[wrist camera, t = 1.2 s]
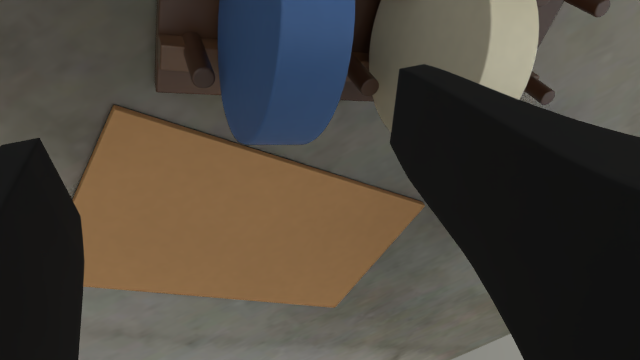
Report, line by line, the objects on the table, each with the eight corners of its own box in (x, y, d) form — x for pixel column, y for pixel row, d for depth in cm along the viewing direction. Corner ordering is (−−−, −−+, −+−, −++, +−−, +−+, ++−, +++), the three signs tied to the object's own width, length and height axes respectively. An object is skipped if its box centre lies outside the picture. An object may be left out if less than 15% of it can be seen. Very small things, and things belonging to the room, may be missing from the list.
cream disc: (449, -73, 18) (582, -11, 13) (389, 87, 22) (473, 181, 17) (406, -83, 17) (531, -21, 12) (352, 85, 21) (430, 183, 16)
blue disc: (292, -112, 15) (387, -51, 10) (258, 80, 19) (313, 188, 14) (232, -127, 14) (303, -68, 9) (210, 77, 18) (251, 191, 13)
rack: (587, -68, 21) (655, -43, 19) (497, 100, 27) (541, 137, 24) (162, -189, 13) (178, -177, 11) (154, 83, 19) (163, 135, 16)
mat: (422, 201, 31) (425, 205, 30) (333, 303, 35) (334, 307, 35) (113, 104, 19) (113, 109, 18) (38, 276, 23) (37, 283, 23)
